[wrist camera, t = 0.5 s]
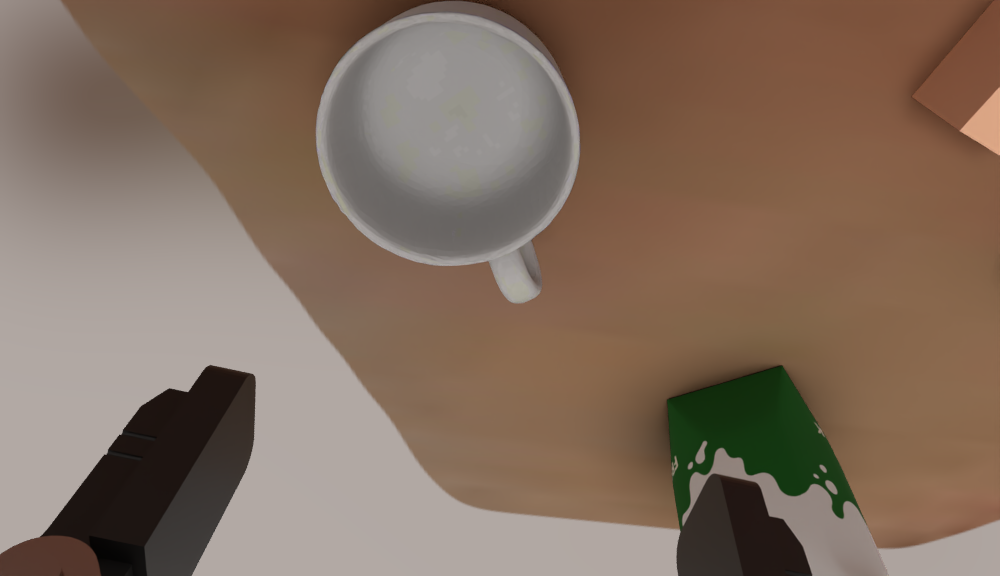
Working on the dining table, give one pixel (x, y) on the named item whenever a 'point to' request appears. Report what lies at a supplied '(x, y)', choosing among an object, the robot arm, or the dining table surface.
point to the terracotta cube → (970, 82)
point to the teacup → (451, 140)
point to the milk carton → (772, 466)
